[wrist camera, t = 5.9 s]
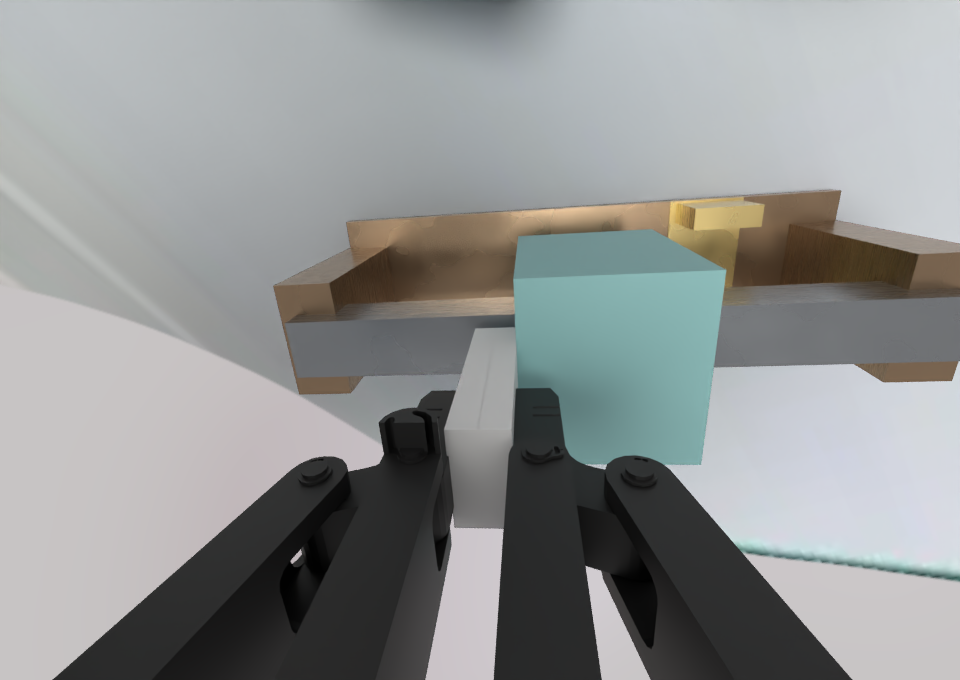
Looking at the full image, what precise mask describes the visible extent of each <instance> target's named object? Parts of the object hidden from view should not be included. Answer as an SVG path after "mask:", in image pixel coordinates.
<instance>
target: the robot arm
mask: <svg viewBox="0 0 960 680" xmlns="http://www.w3.org/2000/svg"><path fill="white" fill-rule="evenodd" d="M379 427H380V433H381V439H382V445H383V451H384V456H383V457H382V460H381V462H380V464H378V465H376V466H372V467H369V468H364V469H360V470H354V471H350V472H348V469H347V465H346V463H345V462H344V461H343V460H342V459H339V458H336V457H325V456H324V457H318V458H313V459H310V460H308V461H305V462H303V463H301V464H299V465H298V466H296V467H295V468H293V469H292V470H291V471H290V472H288V473H287V474H286V475H285V476H284V477H283V478H281V479H280V480H279V481H278V482H277V483H276V484H275V485H274V486H272V487H271V488H270V489H269V490H268V491H267V492H266V493H264V494H263V495H262V496H261V497H260V498H259V499H258V500H256V501H255V502H254V503H253V504H252V505H251V506H250V507H249V508H247V509H246V510H245V511H244V512H243V513H242V514H241V515H240V516H238V517H237V518H236V519H235V520H234V521H233V522H231V523H230V524H229V525H228V526H227V527H226V528H225V529H224V530H222V531H221V532H220V533H219V534H218V535H217V536H216V537H215V538H213V539H212V540H211V541H210V542H209V543H208V544H206V545H205V546H204V547H203V548H202V549H201V550H200V551H198V552H197V553H196V554H195V555H194V556H193V557H192V558H191V559H189V560H188V561H187V562H186V563H185V564H184V565H183V566H181V567H180V568H179V569H178V570H177V571H176V572H175V573H173V574H172V575H171V576H170V577H169V578H168V579H167V580H166V581H164V582H163V583H162V584H161V585H160V586H159V587H158V588H156V590H154V591H153V592H152V593H151V594H150V595H148V596H147V598H145V599H144V600H143V601H142V602H141V603H139V604H138V605H137V606H136V607H135V608H134V609H133V610H131V611H130V612H129V613H128V614H127V615H126V616H125V617H123V619H121V620H120V621H119V622H118V623H117V624H116V625H114V626H113V627H112V628H111V629H110V630H109V631H108V632H106V633H105V634H104V635H103V636H102V637H101V638H100V639H98V640H97V641H96V642H95V643H94V644H93V645H92V646H91V647H89V648H88V649H87V650H86V651H85V652H84V653H83V654H81V655H80V656H79V657H78V658H77V659H76V660H75V661H73V662H72V663H71V664H70V665H69V666H68V667H67V668H66V669H64V670H63V671H62V672H61V673H60V674H59V675H58V676H57V677H55V678H54V679H53V680H425V678H426V673H427V668H428V662H429V658H430V652H431V647H432V642H433V637H434V632H435V627H436V622H437V617H438V611H439V606H440V601H441V596H442V591H443V586H444V581H445V575H446V570H447V565H448V560H449V555H450V550H451V533H450V523H451V518H452V514H453V517H454V527H455V528H456V527H457V528H499V529H500V528H501V529H504V532H503V547H502V562H501V563H502V564H501V577H500V593H499V608H498V609H499V610H498V624H497V638H496V653H495V654H496V655H495V668H494V669H495V670H494V680H602V679H601V673H600V665H599V658H598V651H597V644H596V637H595V630H594V624H593V616H592V609H591V602H590V595H589V588H588V581H587V574H586V567H585V566H588V567H592V568H594V569H598V570H601V571H602V575H603V579H604V582H605V584H606V586H607V588H608V590H609V592H610V594H611V597H612V599H613V601H614V603H615V605H616V607H617V609H618V611H619V613H620V616H621V618H622V620H623V622H624V624H625V626H626V628H627V630H628V632H629V634H630V637H631V639H632V641H633V643H634V645H635V647H636V650H637V652H638V654H639V656H640V658H641V660H642V662H643V664H644V666H645V669H646V670H647V673H648V675H649V677H650V679H651V680H852V679H851V678H850V677H849V675H848V674H847V673H846V672H845V671H844V670H843V669H842V667H841V666H840V665H839V664H838V663H837V662H836V661H835V659H834V658H833V657H832V656H831V655H830V654H829V652H828V651H827V650H826V649H825V648H824V647H823V646H822V644H821V643H820V642H819V641H818V640H817V639H816V637H814V635H813V634H812V633H811V632H810V631H809V629H808V628H807V627H806V626H805V625H804V624H803V623H802V622H801V620H800V619H799V618H798V617H797V616H796V615H795V613H794V612H793V611H792V610H791V609H790V608H789V606H788V605H787V604H786V603H785V602H784V601H783V599H782V598H781V597H780V596H779V595H778V594H777V593H776V592H775V590H774V589H773V588H772V587H771V586H770V585H769V583H768V582H767V581H766V580H765V579H764V578H763V576H762V575H761V574H760V573H759V572H758V571H757V569H756V568H755V567H754V566H753V565H752V564H751V563H750V561H749V560H748V559H747V558H746V557H745V556H744V554H743V553H742V552H741V551H740V550H739V549H738V548H737V546H736V545H735V544H734V543H733V542H732V541H731V540H730V538H729V537H728V536H727V535H726V534H725V533H724V531H723V530H722V529H721V528H720V527H719V526H718V525H717V523H716V522H715V521H714V520H713V519H712V518H711V516H710V515H709V514H708V513H707V512H706V511H705V510H704V508H703V507H702V506H701V505H700V504H699V503H698V501H697V500H696V499H695V498H694V497H693V496H692V495H691V493H690V492H689V491H688V490H687V489H686V488H685V487H684V485H683V484H682V483H681V482H680V481H679V480H678V478H677V477H676V476H675V475H674V474H673V473H672V472H671V470H669V469H668V468H667V467H666V466H665V465H663V464H662V463H660V462H658V461H656V460H653V459H651V458H648V457H643V456H638V455H632V456H622V457H618V458H615V459H613V460H612V461H611V462H610V463H608V464H607V467H606V470H604V469H599V468H594V467H591V466H588V465H585V464H582V463H580V462H578V461H577V460H575V459H574V458H573V457H571V456H570V454H569V452H568V450H567V448H566V447H565V440H564V433H563V425H562V418H561V411H560V403H559V396H558V395H557V394H556V393H555V392H554V391H553V390H552V389H551V388H518V373H517V348H516V332H515V327H507V328H475V331H474V335H473V338H472V341H471V344H470V347H469V351H468V354H467V357H466V360H465V364H464V367H463V370H462V373H461V376H460V380H459V383H458V386H457V389H456V391H431V392H430V393H429V394H427V395H426V396H425V397H424V398H422V399H421V401H420V403H419V405H418V408H407V409H401V410H398V411H395V412H392V413H390V414H389V415H387V416H385V417H384V418H383V419H382V420H381V421H380V422H379ZM300 549H301V551H302V555H301V556H300V557H299V559H298V560H297V561H295V562H294V563H293V564H291V562H290V561H291V559H292V558H293V557H294V556H295V555H296V553H298V551H299V550H300Z"/></svg>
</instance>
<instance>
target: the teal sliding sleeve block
mask: <svg viewBox="0 0 960 680" xmlns="http://www.w3.org/2000/svg"><path fill="white" fill-rule="evenodd" d="M725 277H726V269H724V268H722V267H720V266H718V265H716V264H715V263H713V262H711V261H709V260H707V259H705V258H704V257H702V256H700V255H698V254H696V253H694V252H693V251H691V250H689V249H687V248H685V247H683V246H682V245H680V244H678V243H676V242H674V241H672V240H671V239H669V238H667V237H665V236H663V235H661V234H660V233H658V232H656V231H654V230H652V229H645V230H626V231H607V232H589V233H570V234H551V235H532V236H518V244H517V252H516V261H515V269H514V278H513V283H514V307H515V332H516V348H517V373H518V388H551V389H552V390H553V391H554V392H555V393H556V394H557V395H558V396H559V403H560V411H561V418H562V425H563V433H564V440H565V447H566V448H567V450H568V452H569V454H570V456H571V457H573V458H574V459H575V460H577V461H578V462H580V463H582V464H608V463H610V462H611V461H612V460H613V459H615V458H618V457H622V456H632V455H638V456H643V457H648V458H651V459H653V460H656V461H658V462H660V463H662V464H663V465H701V461H702V453H703V446H704V438H705V430H706V423H707V415H708V407H709V400H710V392H711V384H712V377H713V369H714V361H715V354H716V346H717V338H718V331H719V323H720V315H721V308H722V300H723V292H724V285H725Z"/></svg>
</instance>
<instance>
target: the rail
mask: <svg viewBox="0 0 960 680" xmlns="http://www.w3.org/2000/svg"><path fill="white" fill-rule="evenodd" d="M840 195H841V191H840V190H819V191H804V192H788V193H773V194H757V195H742V196H726V197H711V198H696V199H680V200H665V201H649V202H634V203H618V204H603V205H587V206H572V207H556V208H541V209H526V210H510V211H495V212H479V213H464V214H448V215H433V216H417V217H402V218H386V219H371V220H355V221H349V222H346V224H347V229H348V235H349V241H350V247H351V248H349V249H347V250H345V251H343V252H341V253H339V254H337V255H335V256H333V257H331V258H329V259H327V260H325V261H323V262H320V263H318V264H316V265H314V266H312V267H310V268H308V269H306V270H304V271H302V272H300V273H298V274H296V275H294V276H292V277H290V278H288V279H286V280H284V281H282V282H280V283H278V284H276V285H274V286H273V287H274V291H275V296H276V300H277V304H278V308H279V312H280V316H281V320H282V325H283V329H284V333H285V337H286V341H287V345H288V349H289V354H290V358H291V362H292V366H293V370H294V374H295V378H296V383H297V387H298V391H299V394H341V393H351V392H352V391H353V390H354V388H355V387H356V386H357V384H358V383H359V382H360V380H361V379H362V378H363V376H387V375H427V374H461V373H462V370H463V367H464V364H465V360H466V357H467V354H468V351H469V347H470V344H471V341H472V338H473V335H474V331H475V328H507V327H515V307H514V283H513V278H514V269H515V261H516V252H517V244H518V236H532V235H551V234H570V233H589V232H607V231H626V230H645V229H652V230H654V231H656V232H658V233H660V234H661V235H663V236H665V237H667V238H669V239H671V240H672V241H674V242H676V243H678V244H680V245H682V246H683V247H685V248H687V249H689V250H691V251H693V252H694V253H696V254H698V255H700V256H702V257H704V258H705V259H707V260H709V261H711V262H713V263H715V264H716V265H718V266H720V267H722V268H724V269H726V277H725V285H724V292H723V300H722V308H721V315H720V323H719V331H718V338H717V346H716V354H715V361H714V367H748V366H788V365H828V364H855V365H856V366H858V367H860V368H861V369H863V370H864V371H866V372H868V373H869V374H871V375H873V376H874V377H876V378H877V379H879V380H881V381H882V382H923V381H952V379H953V376H954V373H955V370H956V367H957V364H958V361H960V244H959V243H954V242H948V241H943V240H938V239H933V238H927V237H922V236H917V235H911V234H906V233H901V232H896V231H890V230H885V229H880V228H874V227H869V226H864V225H859V224H853V223H848V222H843V221H837V220H835V219H836V214H837V209H838V205H839V200H840Z"/></svg>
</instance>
